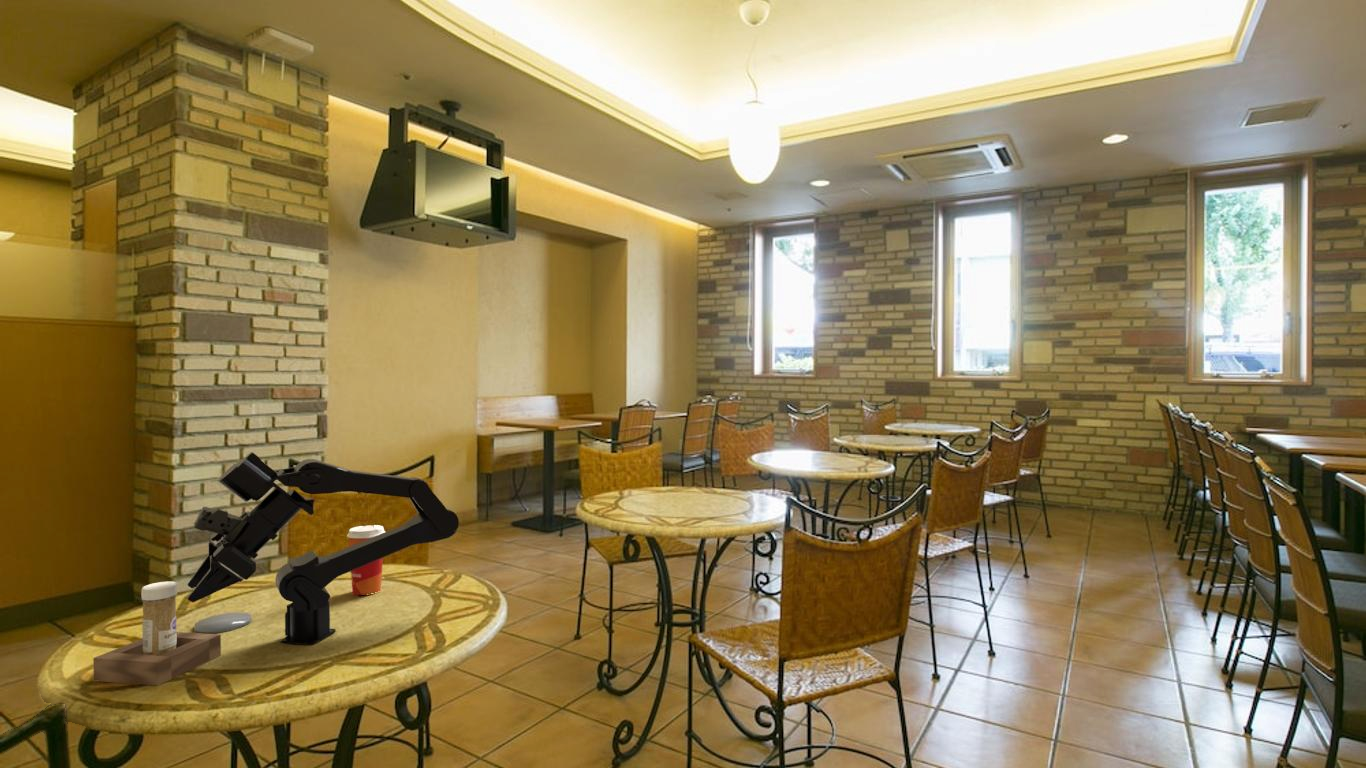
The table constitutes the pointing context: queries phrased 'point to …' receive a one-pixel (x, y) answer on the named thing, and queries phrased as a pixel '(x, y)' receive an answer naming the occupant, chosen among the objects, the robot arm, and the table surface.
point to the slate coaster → (223, 622)
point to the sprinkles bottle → (159, 618)
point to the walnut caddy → (156, 660)
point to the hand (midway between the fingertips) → (189, 593)
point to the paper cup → (370, 574)
